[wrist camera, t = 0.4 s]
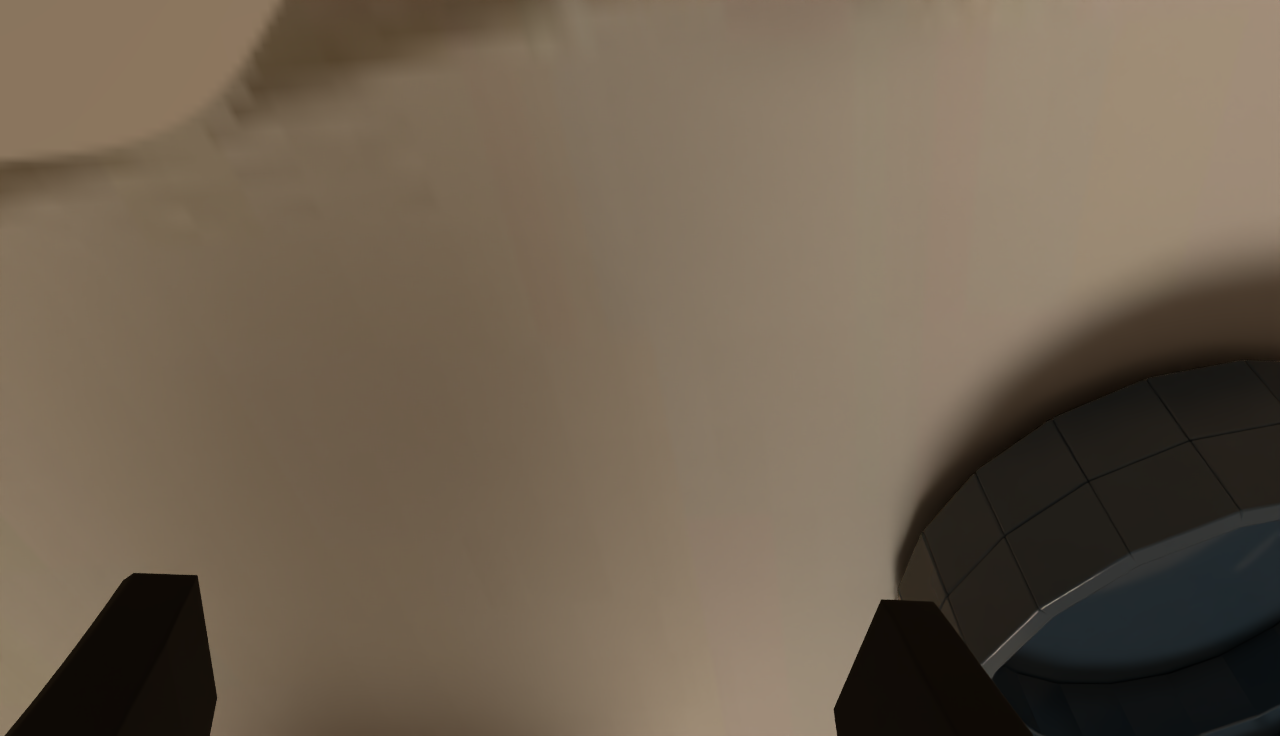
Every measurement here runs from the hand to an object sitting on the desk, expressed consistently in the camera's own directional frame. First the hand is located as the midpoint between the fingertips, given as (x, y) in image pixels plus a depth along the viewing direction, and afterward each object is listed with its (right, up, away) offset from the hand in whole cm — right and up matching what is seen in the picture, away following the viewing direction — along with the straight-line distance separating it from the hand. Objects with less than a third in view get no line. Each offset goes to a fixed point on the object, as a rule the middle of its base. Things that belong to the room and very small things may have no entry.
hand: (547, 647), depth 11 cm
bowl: (+14, -2, +15) cm, 21 cm away
